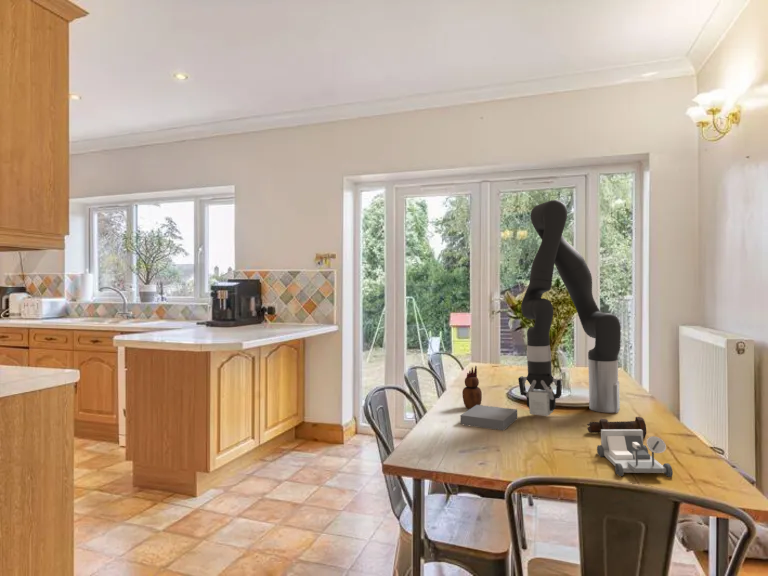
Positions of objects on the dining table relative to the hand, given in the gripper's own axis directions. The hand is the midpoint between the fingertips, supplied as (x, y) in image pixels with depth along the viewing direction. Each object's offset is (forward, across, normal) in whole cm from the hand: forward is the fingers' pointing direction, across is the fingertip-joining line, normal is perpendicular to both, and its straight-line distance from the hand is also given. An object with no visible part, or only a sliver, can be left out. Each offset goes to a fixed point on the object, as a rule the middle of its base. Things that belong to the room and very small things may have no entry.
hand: (541, 409), depth 161 cm
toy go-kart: (+3, -30, +32) cm, 44 cm away
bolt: (+3, -23, +9) cm, 25 cm away
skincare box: (+1, 0, 0) cm, 1 cm away
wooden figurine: (+3, +24, -1) cm, 25 cm away
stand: (+2, +14, +12) cm, 18 cm away
